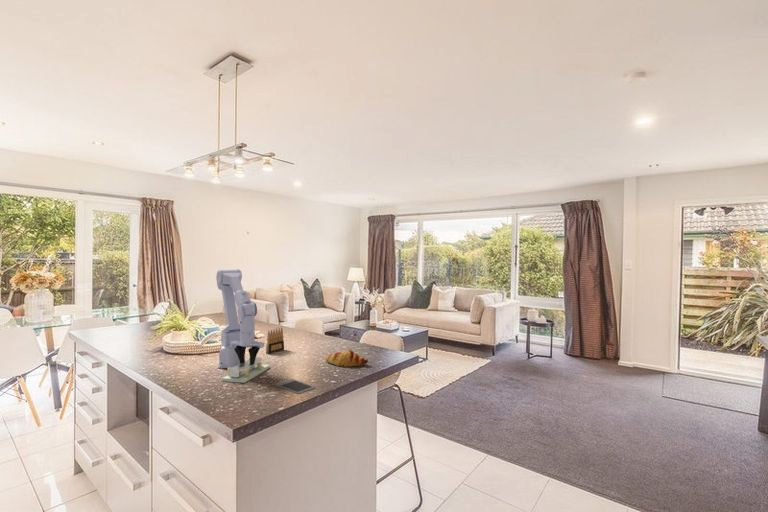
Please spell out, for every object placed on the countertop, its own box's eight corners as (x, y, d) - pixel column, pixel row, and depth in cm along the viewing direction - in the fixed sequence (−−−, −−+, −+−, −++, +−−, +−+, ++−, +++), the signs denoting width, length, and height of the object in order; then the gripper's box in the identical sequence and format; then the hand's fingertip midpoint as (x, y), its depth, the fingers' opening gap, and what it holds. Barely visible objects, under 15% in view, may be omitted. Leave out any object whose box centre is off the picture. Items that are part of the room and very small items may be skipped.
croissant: (322, 371, 167) (318, 358, 163) (331, 356, 175) (327, 343, 172) (366, 374, 160) (362, 361, 157) (372, 358, 169) (369, 345, 165)
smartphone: (316, 388, 135) (316, 387, 135) (298, 395, 129) (298, 393, 129) (292, 380, 145) (292, 378, 145) (274, 385, 139) (274, 384, 139)
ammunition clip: (268, 354, 183) (268, 330, 183) (266, 353, 184) (266, 330, 184) (284, 349, 192) (284, 327, 193) (281, 349, 193) (281, 326, 193)
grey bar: (240, 377, 142) (240, 369, 142) (228, 376, 143) (228, 368, 143) (263, 364, 160) (263, 357, 160) (252, 363, 161) (252, 356, 161)
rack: (221, 381, 143) (221, 370, 143) (249, 366, 163) (249, 357, 163) (244, 382, 141) (244, 372, 141) (270, 367, 161) (270, 358, 161)
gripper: (225, 333, 149) (225, 366, 149) (258, 334, 147) (258, 367, 147) (235, 329, 156) (235, 361, 156) (266, 330, 154) (266, 363, 153)
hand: (247, 364), depth 152 cm, fingers closed on grey bar, 4 cm apart
